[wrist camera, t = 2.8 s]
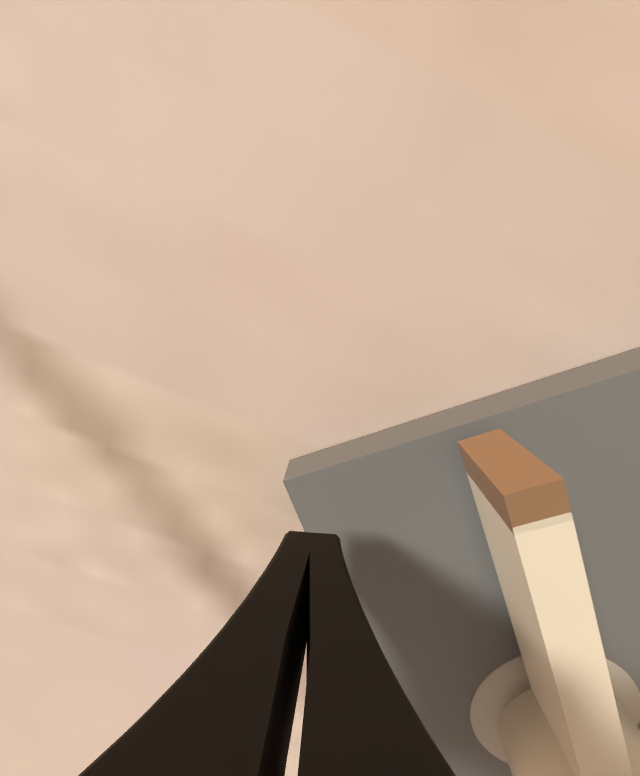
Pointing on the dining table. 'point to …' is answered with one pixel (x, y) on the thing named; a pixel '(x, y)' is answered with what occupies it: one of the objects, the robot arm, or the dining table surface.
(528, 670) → the brown-capped cream post
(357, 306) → the dining table surface
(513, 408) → the dial board
